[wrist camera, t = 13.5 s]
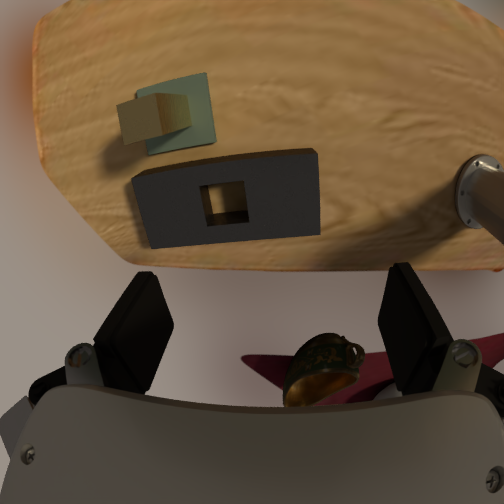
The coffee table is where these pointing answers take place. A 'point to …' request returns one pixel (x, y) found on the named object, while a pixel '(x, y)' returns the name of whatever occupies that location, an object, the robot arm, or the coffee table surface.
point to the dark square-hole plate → (240, 222)
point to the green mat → (199, 113)
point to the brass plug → (153, 116)
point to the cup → (321, 370)
